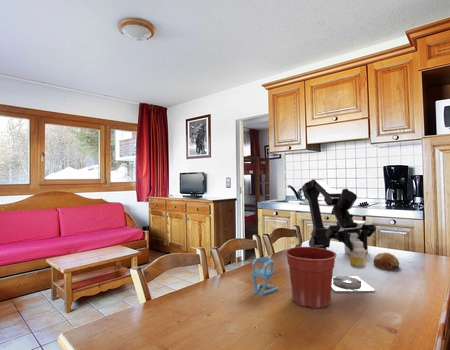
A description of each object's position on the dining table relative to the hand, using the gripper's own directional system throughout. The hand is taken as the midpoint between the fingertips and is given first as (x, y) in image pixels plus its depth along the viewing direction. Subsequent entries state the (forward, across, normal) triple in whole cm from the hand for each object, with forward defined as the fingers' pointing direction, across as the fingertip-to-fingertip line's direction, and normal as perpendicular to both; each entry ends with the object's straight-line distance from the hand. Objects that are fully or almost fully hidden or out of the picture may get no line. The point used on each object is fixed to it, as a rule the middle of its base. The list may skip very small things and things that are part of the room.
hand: (359, 250), depth 106 cm
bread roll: (-3, -24, -23) cm, 33 cm away
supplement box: (-20, -24, -40) cm, 51 cm away
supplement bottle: (+4, 0, -6) cm, 7 cm away
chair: (+9, +37, -10) cm, 39 cm away
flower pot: (+16, +23, -3) cm, 28 cm away
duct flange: (+8, +4, -10) cm, 14 cm away
